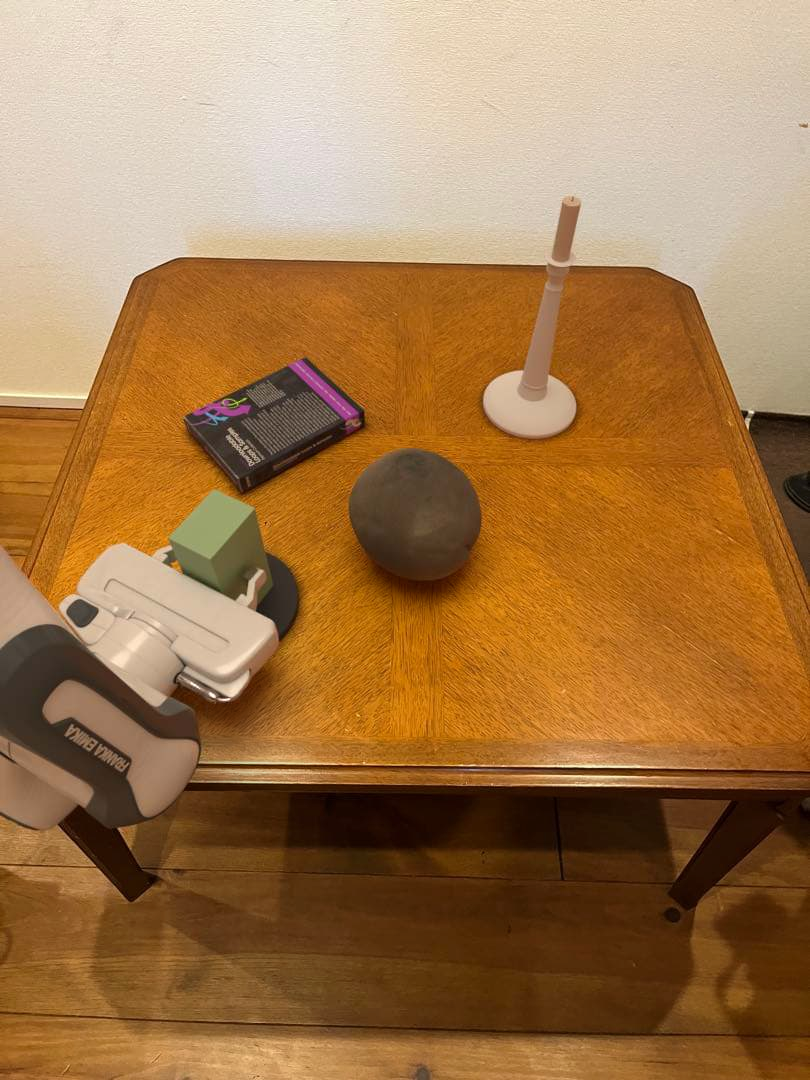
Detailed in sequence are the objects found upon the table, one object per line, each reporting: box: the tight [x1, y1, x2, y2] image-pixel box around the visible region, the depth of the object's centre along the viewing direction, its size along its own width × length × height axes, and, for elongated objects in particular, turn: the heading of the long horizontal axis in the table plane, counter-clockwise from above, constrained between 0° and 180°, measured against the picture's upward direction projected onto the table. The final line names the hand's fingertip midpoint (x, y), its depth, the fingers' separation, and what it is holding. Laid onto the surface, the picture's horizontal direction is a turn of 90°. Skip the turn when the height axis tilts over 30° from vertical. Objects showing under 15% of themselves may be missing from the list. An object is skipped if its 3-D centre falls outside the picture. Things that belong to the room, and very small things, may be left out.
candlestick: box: [482, 195, 582, 440], centre depth 90 cm, size 13×13×30 cm
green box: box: [167, 488, 273, 605], centre depth 76 cm, size 5×7×14 cm
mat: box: [255, 551, 300, 642], centre depth 82 cm, size 14×14×1 cm
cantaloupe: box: [348, 447, 483, 581], centre depth 81 cm, size 14×14×15 cm
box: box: [182, 356, 366, 494], centre depth 97 cm, size 14×4×20 cm
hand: (227, 554), depth 76 cm, fingers open, 7 cm apart
